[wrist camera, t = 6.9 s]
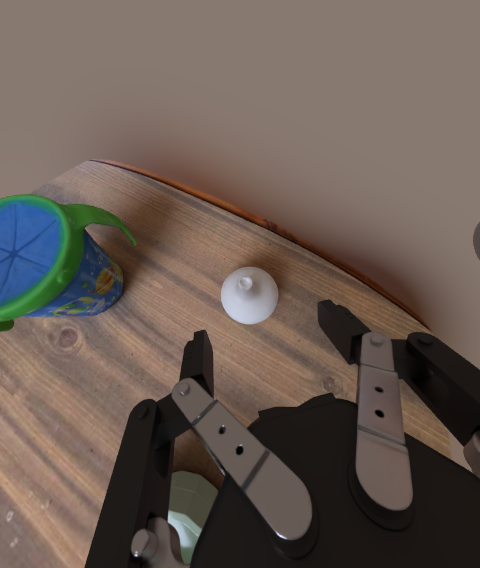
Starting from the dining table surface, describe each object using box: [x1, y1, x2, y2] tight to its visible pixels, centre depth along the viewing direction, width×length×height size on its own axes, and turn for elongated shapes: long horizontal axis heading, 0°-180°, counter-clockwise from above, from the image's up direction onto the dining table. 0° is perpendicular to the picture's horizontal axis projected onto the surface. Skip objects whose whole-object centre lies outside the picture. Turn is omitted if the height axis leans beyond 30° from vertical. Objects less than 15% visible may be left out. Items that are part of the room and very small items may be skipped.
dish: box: [168, 471, 218, 564], centre depth 15 cm, size 9×9×5 cm
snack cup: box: [0, 194, 137, 332], centre depth 20 cm, size 16×10×10 cm
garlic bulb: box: [221, 267, 279, 324], centre depth 20 cm, size 6×6×8 cm
